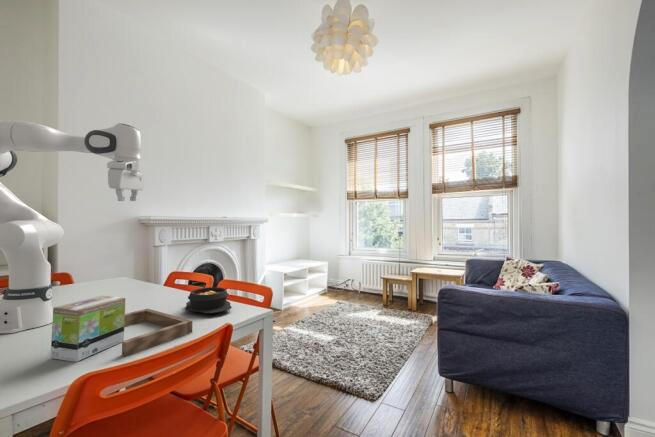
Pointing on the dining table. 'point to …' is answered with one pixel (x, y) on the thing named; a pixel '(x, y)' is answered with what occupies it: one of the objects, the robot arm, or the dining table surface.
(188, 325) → the dock
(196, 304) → the casserole
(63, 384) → the dining table surface
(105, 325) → the tea box
